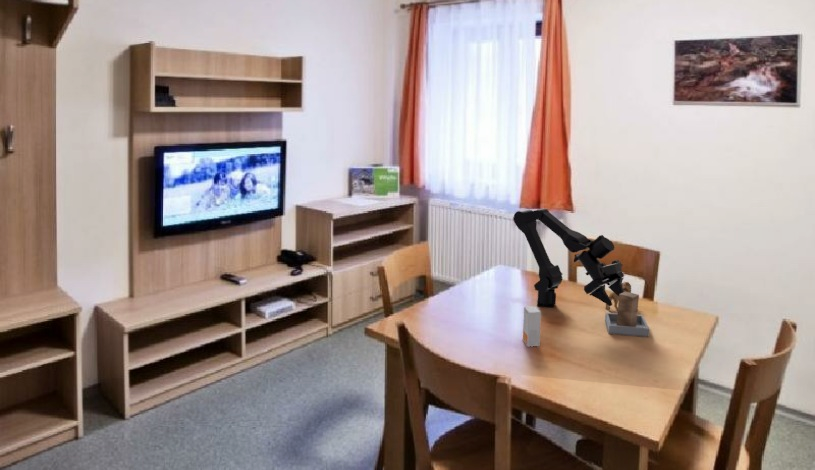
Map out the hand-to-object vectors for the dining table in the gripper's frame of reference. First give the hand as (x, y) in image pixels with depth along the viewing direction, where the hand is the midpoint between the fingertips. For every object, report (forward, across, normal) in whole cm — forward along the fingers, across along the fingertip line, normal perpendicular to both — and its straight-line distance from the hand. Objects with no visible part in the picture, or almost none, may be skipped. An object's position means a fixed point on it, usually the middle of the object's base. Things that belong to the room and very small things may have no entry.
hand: (618, 302), depth 217 cm
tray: (+9, 0, +3) cm, 9 cm away
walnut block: (+8, 0, +3) cm, 9 cm away
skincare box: (-1, -36, +14) cm, 38 cm away
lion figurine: (0, +19, +13) cm, 23 cm away
